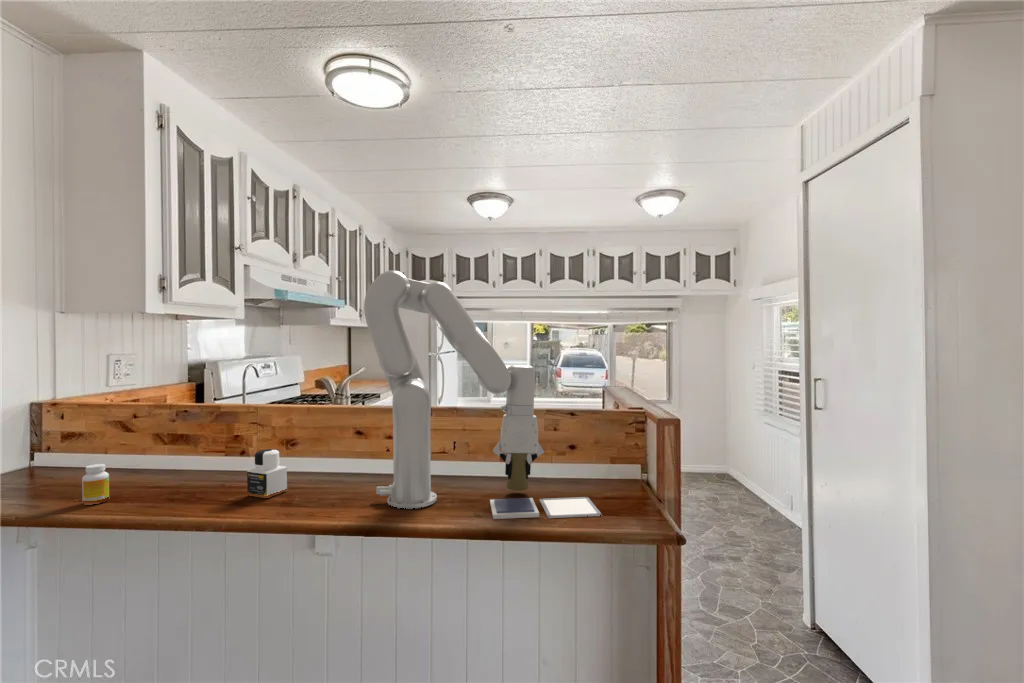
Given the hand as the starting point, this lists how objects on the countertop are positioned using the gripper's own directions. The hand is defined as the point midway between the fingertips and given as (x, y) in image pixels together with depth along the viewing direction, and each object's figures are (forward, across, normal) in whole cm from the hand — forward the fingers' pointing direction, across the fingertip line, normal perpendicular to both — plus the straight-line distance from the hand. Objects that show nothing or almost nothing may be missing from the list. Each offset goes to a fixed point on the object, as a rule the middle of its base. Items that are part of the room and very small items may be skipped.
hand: (517, 476), depth 138 cm
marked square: (+4, +12, -12) cm, 18 cm away
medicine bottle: (+7, -68, +8) cm, 69 cm away
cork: (+3, 0, 0) cm, 3 cm away
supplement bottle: (+9, -110, +6) cm, 110 cm away
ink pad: (+5, -2, -12) cm, 13 cm away
